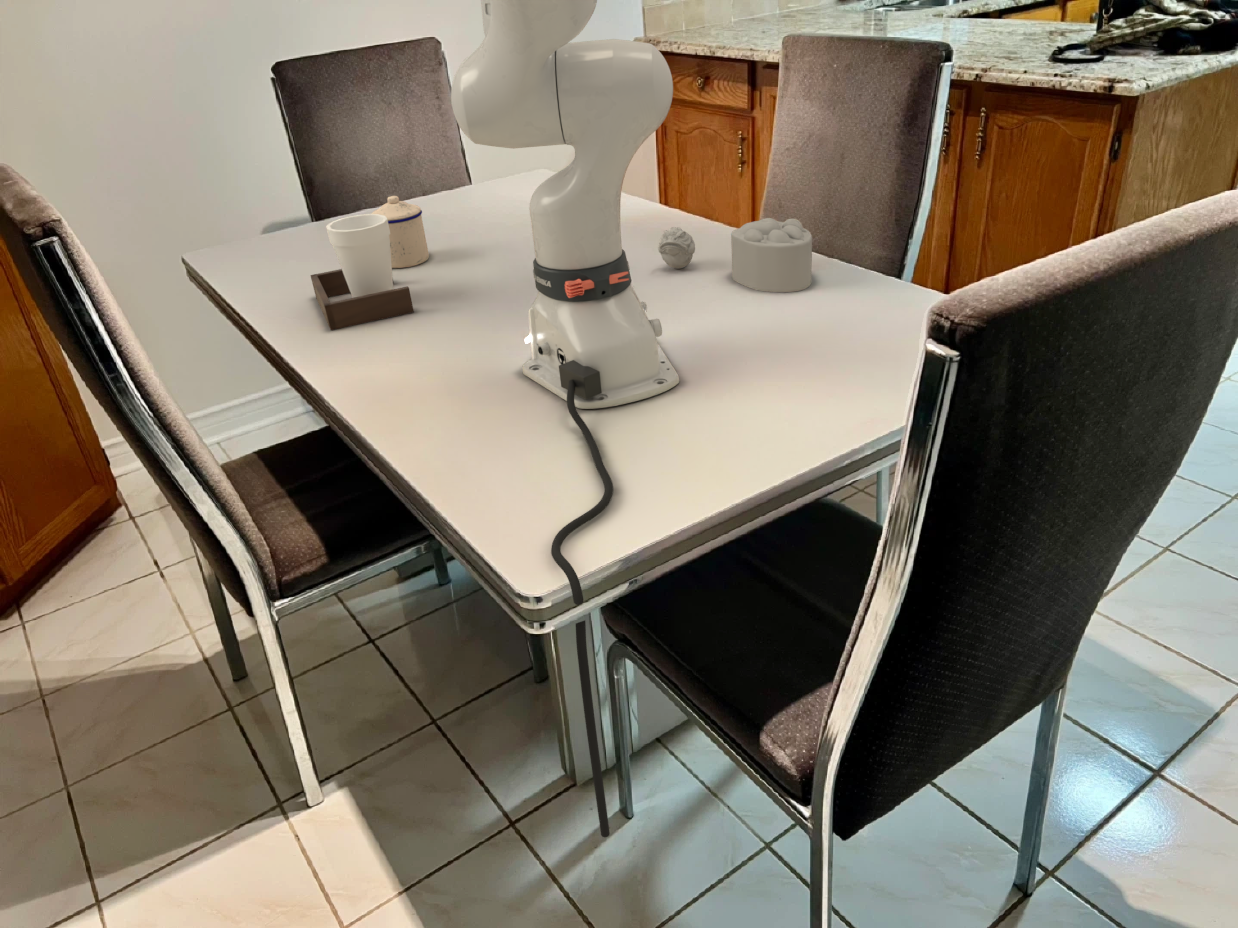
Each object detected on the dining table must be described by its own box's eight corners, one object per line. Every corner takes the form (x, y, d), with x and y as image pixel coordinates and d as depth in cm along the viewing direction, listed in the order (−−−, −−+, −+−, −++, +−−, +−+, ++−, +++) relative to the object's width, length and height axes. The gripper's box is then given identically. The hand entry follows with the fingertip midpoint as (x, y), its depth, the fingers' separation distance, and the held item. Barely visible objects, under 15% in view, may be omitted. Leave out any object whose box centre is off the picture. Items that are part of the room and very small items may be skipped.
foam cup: (342, 298, 156) (323, 220, 150) (397, 287, 159) (381, 210, 152) (349, 316, 148) (330, 235, 142) (407, 304, 151) (391, 224, 144)
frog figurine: (654, 274, 153) (651, 232, 150) (666, 260, 159) (663, 219, 155) (690, 276, 151) (688, 233, 148) (701, 261, 157) (699, 220, 154)
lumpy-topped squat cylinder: (775, 261, 154) (775, 209, 150) (828, 281, 144) (830, 225, 140) (723, 276, 150) (721, 223, 145) (774, 298, 140) (774, 241, 135)
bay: (414, 312, 148) (409, 287, 146) (330, 330, 144) (324, 305, 142) (392, 282, 161) (388, 259, 159) (316, 297, 157) (310, 275, 155)
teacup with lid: (425, 249, 176) (413, 187, 170) (435, 262, 169) (422, 197, 163) (361, 262, 173) (346, 198, 167) (368, 275, 165) (353, 210, 159)
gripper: (466, -24, 142) (480, 74, 149) (505, -22, 126) (519, 88, 133) (505, -29, 144) (517, 68, 151) (550, -27, 128) (561, 82, 134)
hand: (519, 78), depth 142 cm, fingers closed
